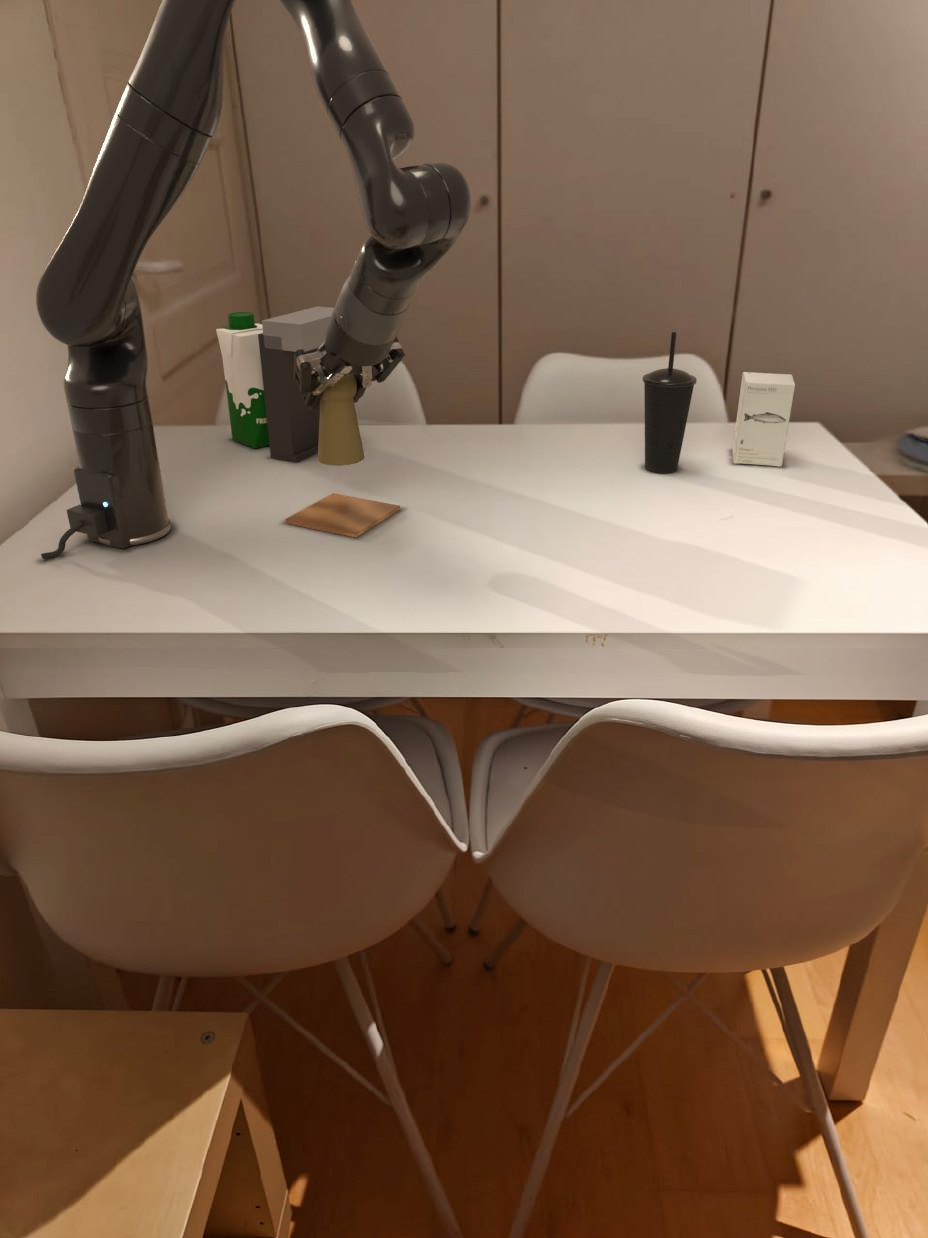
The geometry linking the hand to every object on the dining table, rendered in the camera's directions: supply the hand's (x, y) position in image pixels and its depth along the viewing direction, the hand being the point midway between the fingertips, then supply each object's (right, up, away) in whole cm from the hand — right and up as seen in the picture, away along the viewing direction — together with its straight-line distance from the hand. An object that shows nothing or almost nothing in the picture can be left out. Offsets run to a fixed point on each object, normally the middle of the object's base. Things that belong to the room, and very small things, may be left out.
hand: (330, 400), depth 118 cm
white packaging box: (+62, -3, +26) cm, 68 cm away
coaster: (+1, -14, +6) cm, 15 cm away
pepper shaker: (+1, -7, +2) cm, 8 cm away
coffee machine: (-7, 0, +32) cm, 33 cm away
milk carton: (-17, +2, +37) cm, 41 cm away
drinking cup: (+47, -5, +23) cm, 52 cm away
